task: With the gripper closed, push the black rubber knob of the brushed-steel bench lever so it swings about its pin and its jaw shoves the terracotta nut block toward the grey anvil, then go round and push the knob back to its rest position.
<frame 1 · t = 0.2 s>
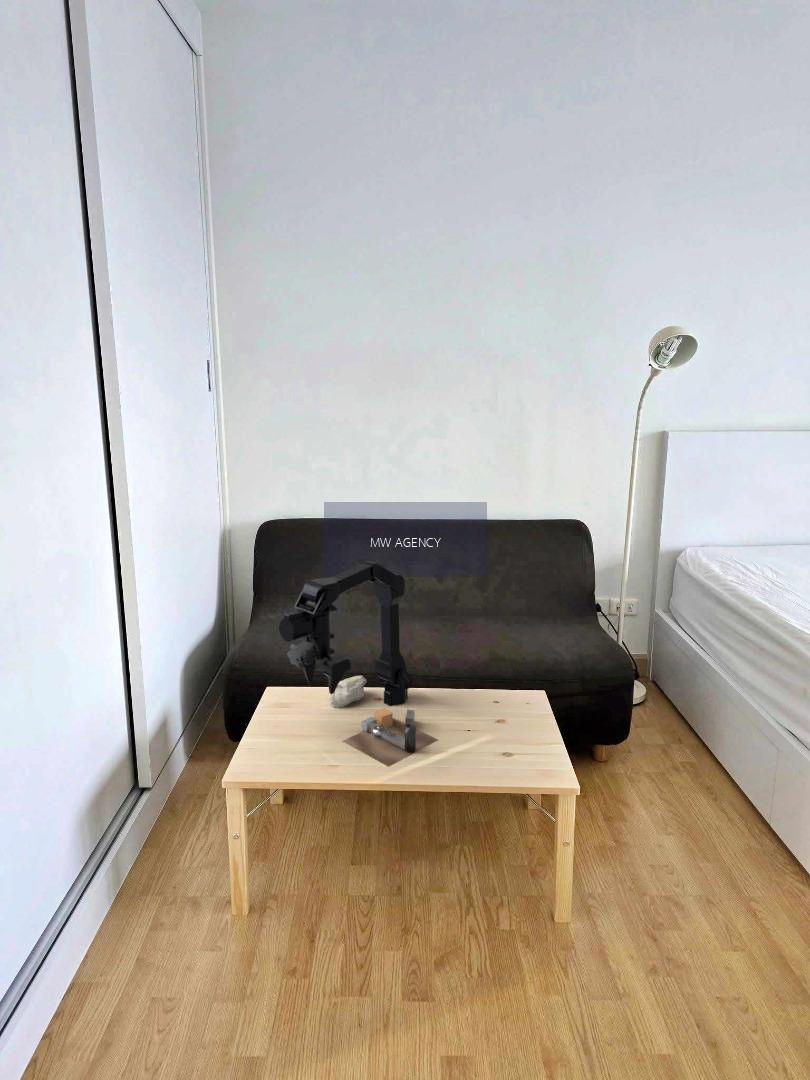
hand: (320, 687, 187), 14 cm above the table, fingers open, 9 cm apart
lever: (389, 727, 187), point 4 cm above the table, hinge at 0.0°
nut block: (383, 724, 196), point 1 cm above the table, touching press bench
fossil replica: (346, 704, 210), on the table
press bench: (390, 743, 188), on the table
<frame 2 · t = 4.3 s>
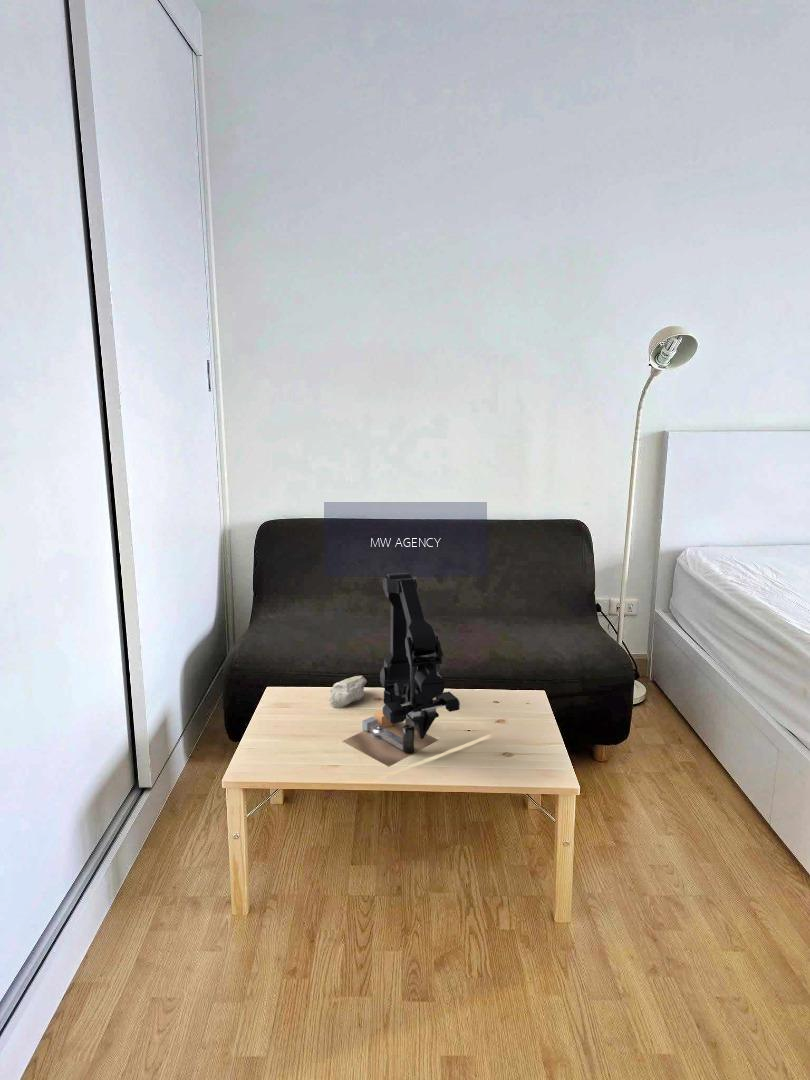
hand: (421, 738, 183), 4 cm above the table, fingers closed
lever: (389, 728, 187), point 4 cm above the table, hinge at -3.2°, touching gripper
everything else where it was.
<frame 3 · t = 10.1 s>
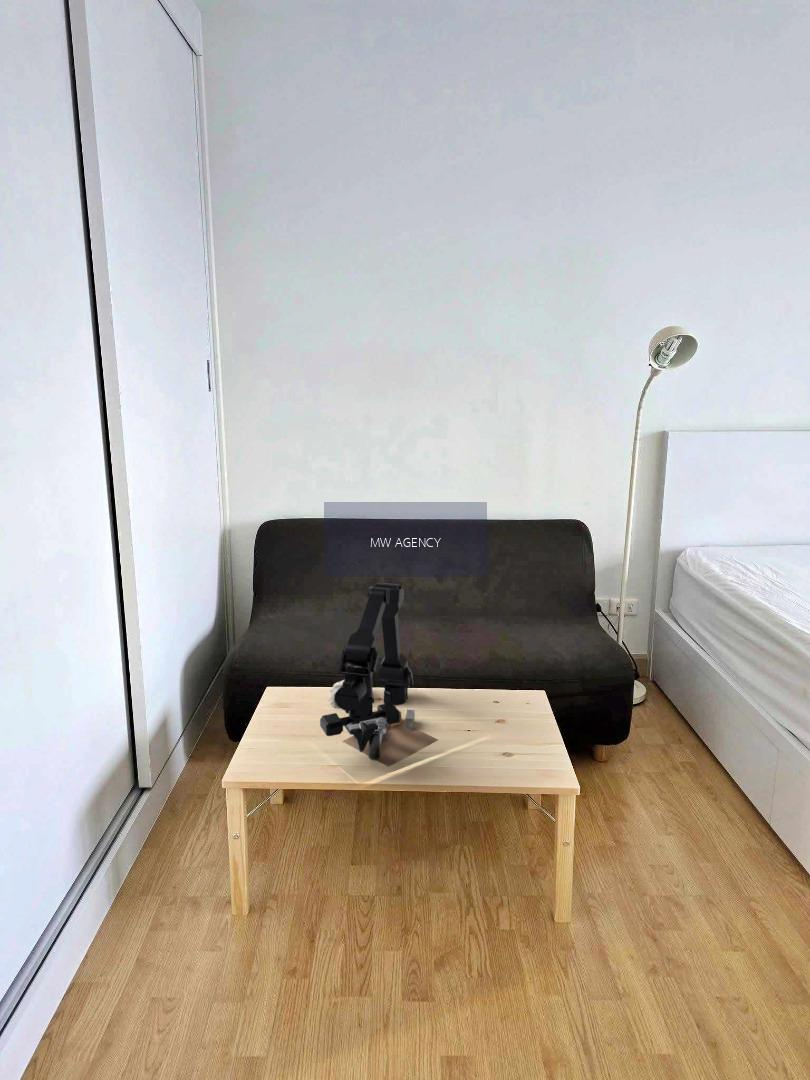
hand: (361, 750, 177), 4 cm above the table, fingers closed
lever: (377, 730, 186), point 4 cm above the table, hinge at -50.8°, touching gripper
nut block: (392, 722, 197), point 1 cm above the table, touching press bench
everything else where it was.
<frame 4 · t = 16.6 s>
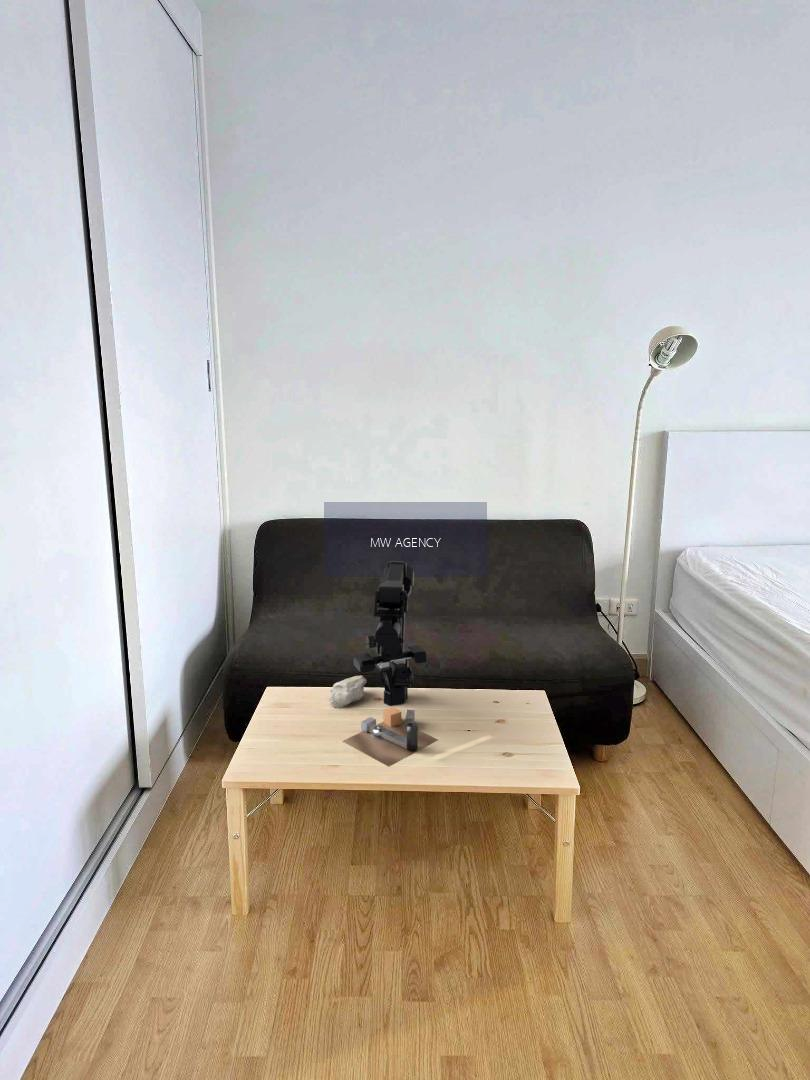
hand: (390, 688, 192), 12 cm above the table, fingers closed
lever: (390, 727, 187), point 4 cm above the table, hinge at 3.6°
everything else where it was.
at the end: lever at +4° (first picture: +0°); nut block moved 2.6 cm from its start; nut block point 1.0 cm above the table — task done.
